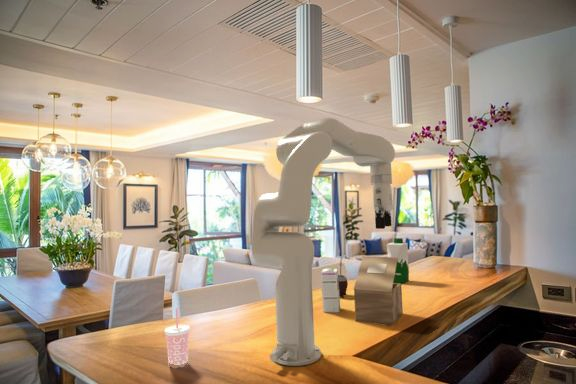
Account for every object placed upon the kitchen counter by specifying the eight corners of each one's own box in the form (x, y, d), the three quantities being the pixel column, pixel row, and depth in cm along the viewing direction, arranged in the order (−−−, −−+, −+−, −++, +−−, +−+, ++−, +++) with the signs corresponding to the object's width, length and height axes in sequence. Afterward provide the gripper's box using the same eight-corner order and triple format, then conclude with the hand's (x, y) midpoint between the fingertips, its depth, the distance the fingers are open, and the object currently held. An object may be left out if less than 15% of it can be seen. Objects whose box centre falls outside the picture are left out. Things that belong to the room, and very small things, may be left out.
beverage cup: (162, 370, 92) (160, 312, 92) (170, 360, 98) (168, 305, 98) (187, 369, 92) (185, 311, 92) (193, 359, 98) (191, 304, 98)
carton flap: (391, 293, 117) (390, 291, 117) (354, 290, 123) (353, 288, 122) (397, 258, 127) (397, 257, 126) (362, 257, 132) (362, 256, 132)
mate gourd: (335, 298, 152) (333, 261, 152) (327, 294, 159) (325, 258, 160) (352, 296, 154) (350, 259, 155) (343, 292, 162) (341, 257, 162)
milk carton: (411, 280, 179) (409, 238, 179) (405, 284, 171) (402, 240, 172) (393, 279, 184) (391, 237, 184) (386, 282, 176) (384, 239, 177)
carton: (393, 325, 117) (391, 293, 117) (355, 321, 122) (354, 290, 123) (402, 313, 129) (401, 283, 129) (368, 309, 135) (366, 281, 135)
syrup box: (339, 312, 133) (337, 271, 133) (322, 312, 134) (320, 271, 134) (340, 308, 138) (338, 268, 139) (324, 307, 139) (322, 268, 140)
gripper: (385, 179, 129) (388, 229, 128) (397, 180, 144) (399, 225, 144) (364, 180, 132) (366, 229, 132) (377, 181, 148) (379, 225, 147)
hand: (383, 227), depth 138 cm, fingers open, 9 cm apart
